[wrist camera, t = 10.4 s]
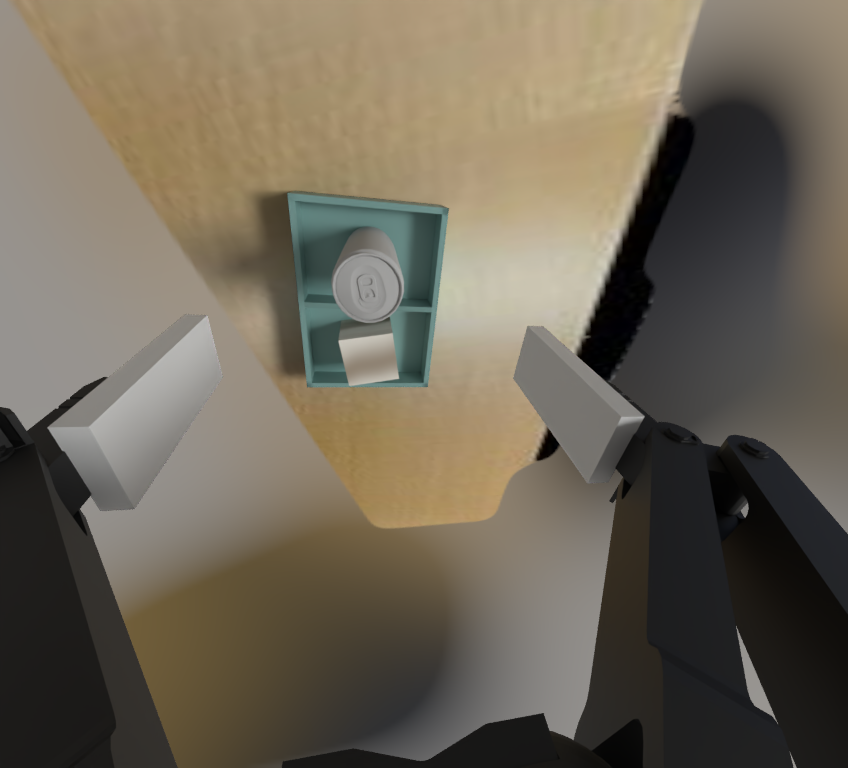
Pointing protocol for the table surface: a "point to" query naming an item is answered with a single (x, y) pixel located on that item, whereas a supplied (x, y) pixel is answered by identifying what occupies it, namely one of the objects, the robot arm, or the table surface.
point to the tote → (315, 261)
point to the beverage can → (368, 276)
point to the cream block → (368, 351)
